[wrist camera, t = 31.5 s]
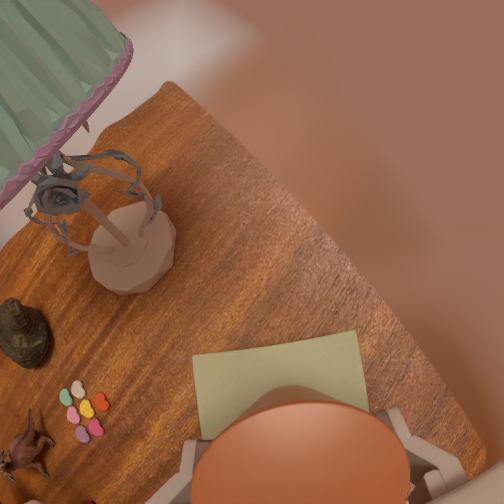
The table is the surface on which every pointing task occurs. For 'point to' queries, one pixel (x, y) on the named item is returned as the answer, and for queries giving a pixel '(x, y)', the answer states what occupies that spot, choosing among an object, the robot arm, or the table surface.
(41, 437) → the dinosaur figurine
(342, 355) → the lid
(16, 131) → the table lamp
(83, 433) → the candy hearts
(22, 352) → the seashell
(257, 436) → the tea tin
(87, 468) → the table surface
